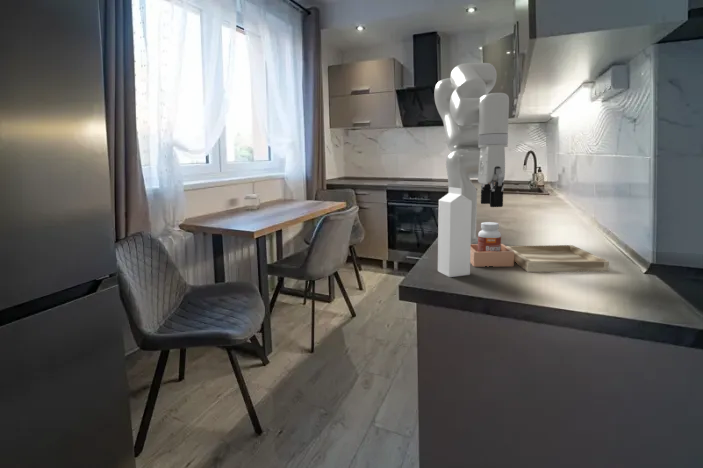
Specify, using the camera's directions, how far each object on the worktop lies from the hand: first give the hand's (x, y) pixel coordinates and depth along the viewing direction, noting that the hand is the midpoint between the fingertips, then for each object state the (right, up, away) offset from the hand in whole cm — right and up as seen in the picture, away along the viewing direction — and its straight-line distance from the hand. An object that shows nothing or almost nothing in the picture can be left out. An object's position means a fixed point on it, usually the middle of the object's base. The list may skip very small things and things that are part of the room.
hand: (491, 205), depth 114 cm
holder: (0, -16, +4) cm, 16 cm away
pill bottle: (0, -16, +4) cm, 16 cm away
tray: (+17, -16, +1) cm, 23 cm away
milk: (-12, -18, -7) cm, 23 cm away
